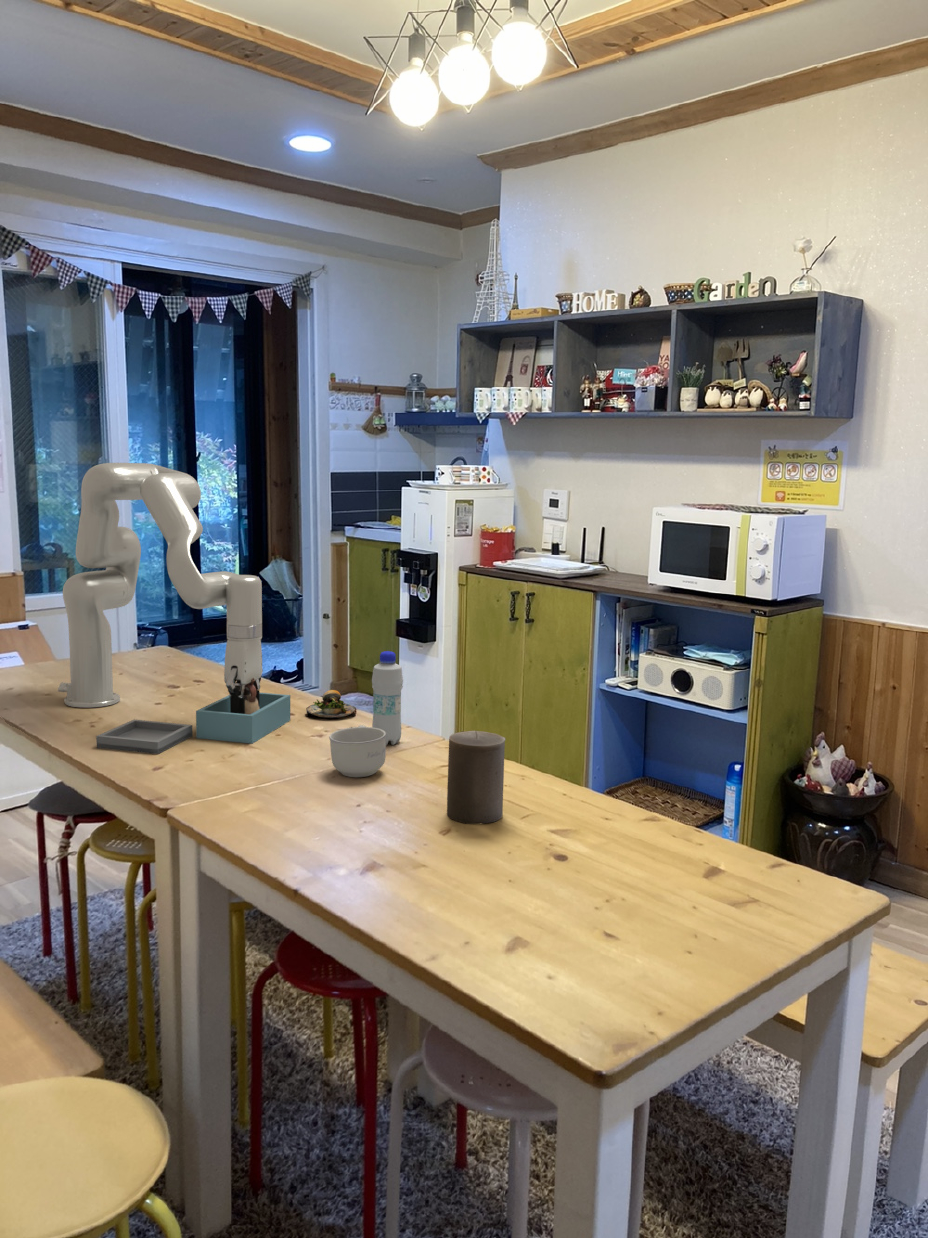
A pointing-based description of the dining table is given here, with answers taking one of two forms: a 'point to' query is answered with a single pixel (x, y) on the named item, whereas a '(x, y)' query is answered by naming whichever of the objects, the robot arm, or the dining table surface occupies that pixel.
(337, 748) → the teacup
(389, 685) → the bottle
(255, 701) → the figurine
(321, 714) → the burger
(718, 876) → the dining table surface
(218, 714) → the tub
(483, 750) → the pillar candle
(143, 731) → the tray
